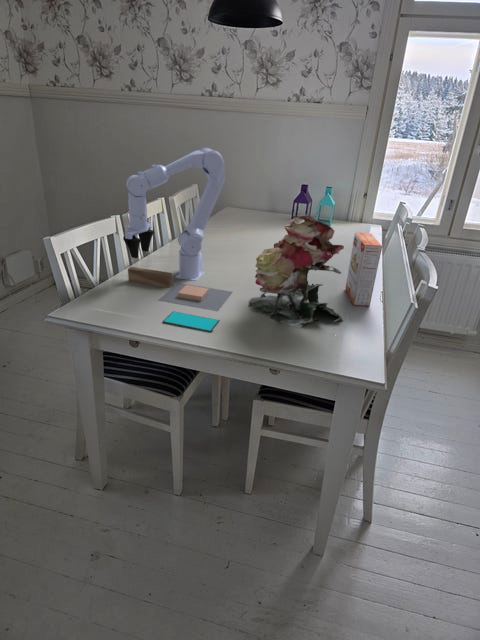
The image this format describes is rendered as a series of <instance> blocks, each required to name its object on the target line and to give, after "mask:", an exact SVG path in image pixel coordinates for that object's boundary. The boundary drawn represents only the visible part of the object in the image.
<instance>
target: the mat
mask: <svg viewBox="0 0 480 640" xmlns="http://www.w3.org/2000/svg"><path fill="white" fill-rule="evenodd" d="M186 285H190V286H196V287H202V288H208V289H209V293H208V294H207V296H206V297H205V298H204V299H203V300H202V301H197V300H191V299H185V298H180V297H178V292H179V291H180V290H182V289H183V288H184V287H185V286H186ZM233 293H234V291H231V290H230V291H229V290H224V289H220V288H218V289H217V288H213V287H206V286H200V285H193V284H190V283H189V284H188V283H181V282H177V283H176V284H175V285H174V286H173V287H171V288H170V289H169V290H168V291H166V293H164V294H163V295H162V296H161V297H160V298H158V300H157V301H160V302H165V303H169V304H170V303H171V304H176V305H181V306H187V307H192V308H197V309H198V308H199V309H204V310H210V311H214V312H219V311H220V309H221V308H222V307H223V305H224V304H225V303H226V302H227V300H228V299H229V297H231V295H232V294H233Z"/></svg>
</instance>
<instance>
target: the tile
mask: <svg viewBox="0 0 480 640" xmlns="http://www.w3.org/2000/svg"><path fill="white" fill-rule="evenodd" d="M190 285H191V284H189V285H186V286H185V287H184V288H183V289H182V290H180V291H179V292H178V297H180V298H185V299H191V300H197V301H202V300H203V299H204V298H205V297H206V296H207V294H208V293H209V289H208V288H209V287H207V288H202V287H203V286H201V287H196V286H197V285H195V286H190Z"/></svg>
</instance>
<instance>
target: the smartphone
mask: <svg viewBox="0 0 480 640" xmlns="http://www.w3.org/2000/svg"><path fill="white" fill-rule="evenodd" d="M220 321H221V320H220V319H215V318H210V317H204V316H199V315H194V314H190V313H185V312H179V311H172V312H170V314H169V315H167V316H166V317H165V318H164V319H162V323H163V324H166V325H172V326H175V327H181V328H186V329H191V330H196V331H201V332H206V333H213V332H214V329H215V328H216V326H218V324H219V323H220Z"/></svg>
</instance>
